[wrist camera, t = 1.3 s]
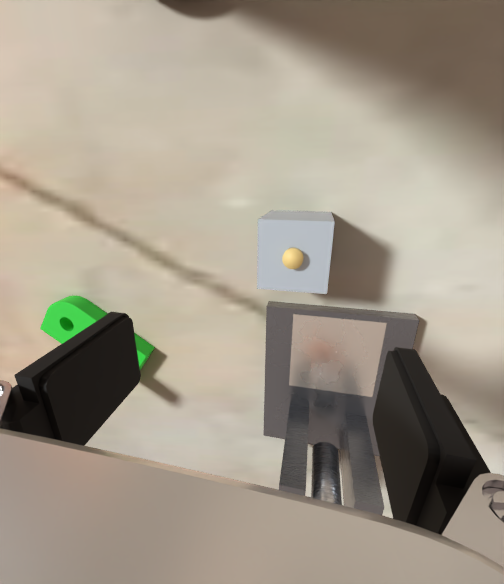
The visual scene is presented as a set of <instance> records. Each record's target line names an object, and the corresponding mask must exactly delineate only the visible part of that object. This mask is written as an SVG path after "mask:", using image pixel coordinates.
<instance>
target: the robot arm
mask: <svg viewBox="0 0 504 584" xmlns="http://www.w3.org/2000/svg"><path fill="white" fill-rule="evenodd" d="M140 376H141V375H140V368H139V361H138V355H137V348H136V342H135V335H134V328H133V322H132V319H131V318H129V316H128V315H127V314H125V313H117V312H110V313H108V314H107V315H105V316H104V317H102V318H101V319H99V320H98V321H96V322H95V323H93V324H92V325H90V326H89V327H87V328H85V329H84V330H82V331H81V332H79V333H78V334H76V335H75V336H73V337H72V338H70V339H69V340H67V341H66V342H64V343H63V344H61V345H60V346H58V347H57V348H55V349H53V350H52V351H50V352H49V353H47V354H46V355H44V356H43V357H41V358H40V359H38V360H37V361H35V362H34V363H32V364H31V365H29V366H28V367H26V368H25V369H23V370H21V371H20V372H18V373H17V374H15V378H16V381H17V384H18V385H16V386H15V387H13V388H12V386H11V384H10V383H9V382H6V381H0V584H504V476H503V475H500V474H493V473H491V472H490V471H489V469H488V467H487V465H486V464H485V462H484V460H483V458H482V457H481V455H480V453H479V452H478V450H477V448H476V446H475V445H474V443H473V441H472V439H471V438H470V436H469V434H468V433H467V431H466V429H465V427H464V426H463V424H462V422H461V420H460V419H459V417H458V415H457V414H456V412H455V410H454V408H453V407H452V405H451V403H450V402H449V400H448V399H447V397H446V396H444V395H441V394H440V393H439V391H438V389H437V387H436V386H435V384H434V382H433V380H432V378H431V377H430V375H429V373H428V371H427V369H426V368H425V366H424V364H423V362H422V361H421V359H420V357H419V355H418V353H417V352H416V350H414V349H407V348H399V347H395V348H394V350H393V351H388V352H387V355H386V360H385V364H384V368H383V373H382V377H381V381H380V385H379V390H378V394H377V398H376V403H375V407H374V411H373V427H374V432H375V436H376V441H377V445H378V450H379V455H380V459H381V464H382V468H383V473H384V478H385V482H386V487H387V491H388V496H389V500H390V505H391V510H392V514H393V519H392V518H389V517H385V516H382V515H379V514H375V513H371V512H367V511H363V510H359V509H355V508H351V507H347V506H343V505H339V504H335V503H331V502H327V501H323V500H319V499H315V498H311V497H307V496H302V495H298V494H294V493H290V492H285V491H281V490H277V489H272V488H268V487H264V486H259V485H255V484H251V483H246V482H242V481H238V480H234V479H229V478H225V477H221V476H216V475H212V474H207V473H203V472H199V471H194V470H190V469H185V468H181V467H177V466H172V465H168V464H163V463H159V462H154V461H150V460H146V459H141V458H137V457H132V456H128V455H123V454H119V453H114V452H110V451H105V450H101V449H96V448H91V447H87V446H84V445H85V444H86V443H87V442H88V441H89V440H90V438H91V437H92V436H93V435H94V434H95V433H96V432H97V430H98V429H99V428H100V427H101V426H102V425H103V423H104V422H105V421H106V420H107V419H108V418H109V417H110V415H111V414H112V413H113V412H114V411H115V410H116V408H117V407H118V406H119V405H120V404H121V403H122V402H123V400H124V399H125V398H126V397H127V396H128V395H129V393H130V392H131V391H132V390H133V389H134V388H135V387H136V385H137V384H138V383H139V381H140Z"/></svg>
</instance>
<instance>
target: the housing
mask: <svg viewBox="0 0 504 584" xmlns="http://www.w3.org/2000/svg"><path fill="white" fill-rule="evenodd" d="M334 223H335V221H334V219H333V216H332V213H331V212H314V211H274V210H271V211H270V212H268V213H267V214H265V215H264V216H262V217H261V218H259V219H258V268H257V289H269V290H281V291H294V292H307V293H319V294H327V289H328V280H329V270H330V261H331V251H332V242H333V232H334Z"/></svg>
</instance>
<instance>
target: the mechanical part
mask: <svg viewBox="0 0 504 584" xmlns="http://www.w3.org/2000/svg"><path fill="white" fill-rule="evenodd" d="M105 315H107V313H106V312H104V311H103V310H101V309H100V308H99V307H97V306H96V305H94V304H93V303H92V302H90V301H89V300H87V299H85V298H83V297H80V296H69V297H66V298H64V299H62V300H60V301H58V302H55V303H53V304H52V305H51V306H50V307H49V308H48V310H47V313H46V315H45V318H44V321H43V323H42V326H41V329H42V330H43V331H44V332H46V333H47V334H49V335H50V336H52V337H53V338H54V339H56V340H57V341H59V342H60V343H61V344H63V343H64V342H66V341H67V340H69V339H70V338H72V337H73V336H75V335H76V334H78V333H79V332H81V331H82V330H84V329H85V328H87V327H89V326H90V325H92V324H93V323H95V322H96V321H98V320H99V319H101V318H102V317H104V316H105ZM134 335H135V342H136V348H137V355H138V361H139V368H140V370H141V368H142V367H143V365H144V364H145V362H146V361H147V359H148V358H149V356H150V354H151V353H152V351H153V350H154V348H155V347H153V346H152V345H151V344H149V343H148V342H146V341H145V340H144V339H142V338H141V337H139V336H138V335H137V334H135V333H134Z"/></svg>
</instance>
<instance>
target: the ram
mask: <svg viewBox="0 0 504 584" xmlns="http://www.w3.org/2000/svg"><path fill="white" fill-rule="evenodd" d="M311 498H315V499H319V500H323V501H327V502H331V503H335V504H339V505H342V501H341V487H340V472H339V458H338V450H337V448H336V447H335V446H334V445H333V444H331V443H328V442H319V443H316V444H315V445H314V446H313V453H312V493H311Z"/></svg>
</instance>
